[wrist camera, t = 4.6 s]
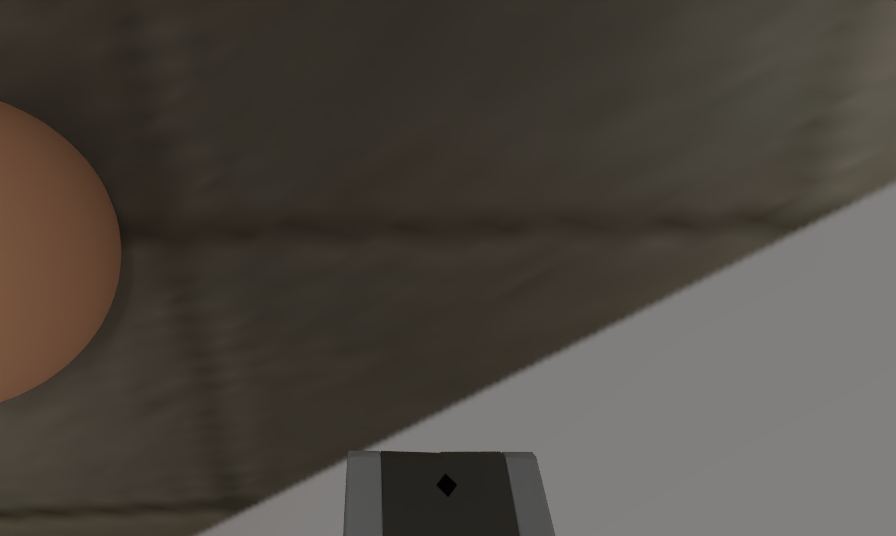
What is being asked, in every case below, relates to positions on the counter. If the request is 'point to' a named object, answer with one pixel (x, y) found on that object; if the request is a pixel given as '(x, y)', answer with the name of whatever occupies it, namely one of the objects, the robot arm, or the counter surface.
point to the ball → (50, 252)
